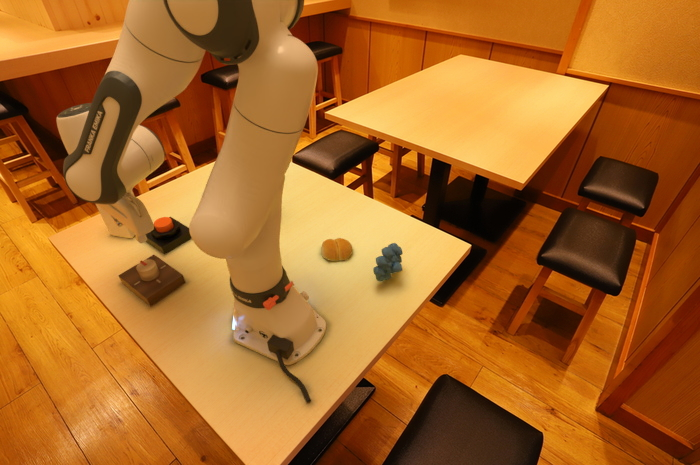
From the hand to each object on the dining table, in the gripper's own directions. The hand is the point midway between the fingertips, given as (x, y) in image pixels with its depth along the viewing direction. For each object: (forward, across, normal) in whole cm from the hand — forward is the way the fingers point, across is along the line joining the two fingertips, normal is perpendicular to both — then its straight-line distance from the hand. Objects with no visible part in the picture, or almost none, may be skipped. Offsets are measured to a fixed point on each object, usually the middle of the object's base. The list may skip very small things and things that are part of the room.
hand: (131, 232), depth 87 cm
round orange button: (+13, +13, -13) cm, 22 cm away
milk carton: (+18, +26, -7) cm, 32 cm away
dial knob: (+14, -1, 0) cm, 14 cm away
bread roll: (+16, -31, -38) cm, 52 cm away
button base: (+17, +13, -13) cm, 25 cm away
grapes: (+16, -49, -39) cm, 64 cm away
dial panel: (+17, -1, 0) cm, 17 cm away
